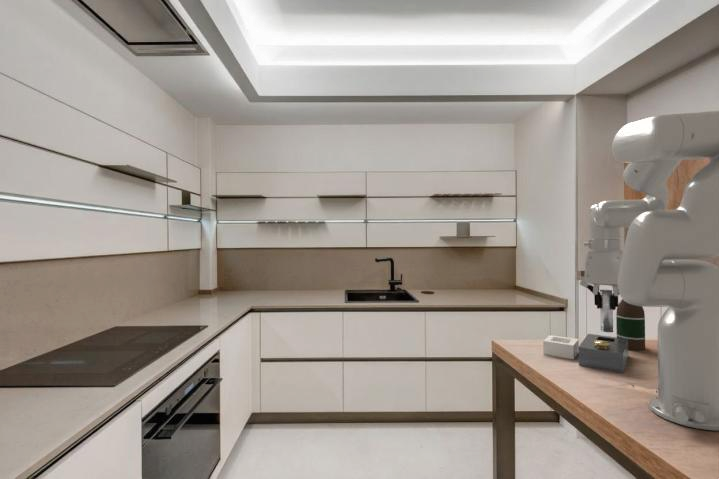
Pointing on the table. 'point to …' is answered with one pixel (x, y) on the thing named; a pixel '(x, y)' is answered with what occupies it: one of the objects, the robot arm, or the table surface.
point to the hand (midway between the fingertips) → (606, 308)
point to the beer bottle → (631, 325)
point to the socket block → (604, 353)
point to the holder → (561, 347)
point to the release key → (601, 344)
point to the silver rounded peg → (606, 310)
